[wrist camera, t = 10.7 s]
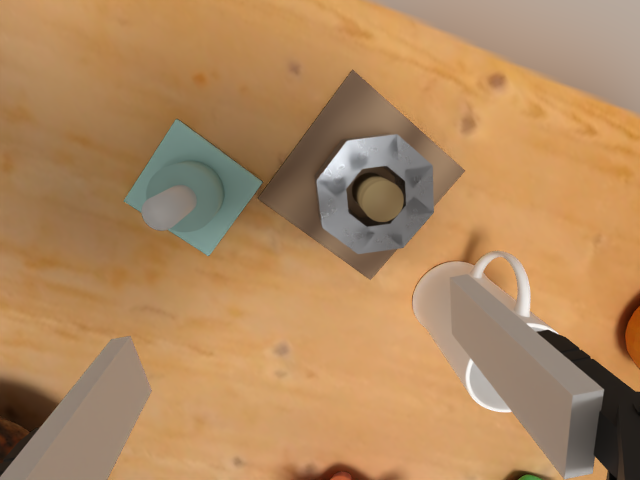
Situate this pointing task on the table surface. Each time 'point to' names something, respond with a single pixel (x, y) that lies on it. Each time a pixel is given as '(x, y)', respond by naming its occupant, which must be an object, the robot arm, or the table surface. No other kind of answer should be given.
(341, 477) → the teapot
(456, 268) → the mug
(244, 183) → the stand
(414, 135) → the hub
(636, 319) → the fruit
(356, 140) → the clutch ring
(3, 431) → the vase
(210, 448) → the table surface
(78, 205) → the table surface
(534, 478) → the speaker
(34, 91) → the table surface
